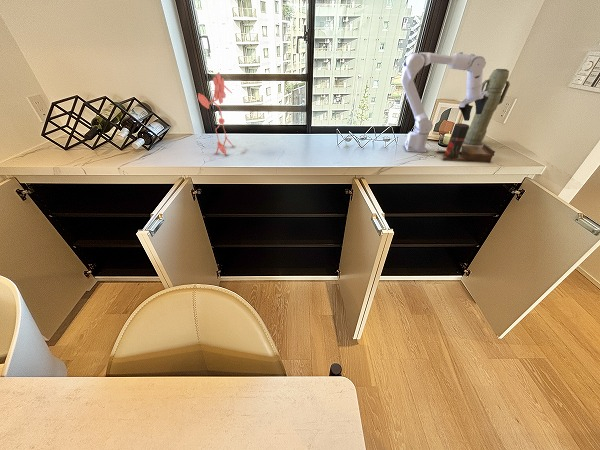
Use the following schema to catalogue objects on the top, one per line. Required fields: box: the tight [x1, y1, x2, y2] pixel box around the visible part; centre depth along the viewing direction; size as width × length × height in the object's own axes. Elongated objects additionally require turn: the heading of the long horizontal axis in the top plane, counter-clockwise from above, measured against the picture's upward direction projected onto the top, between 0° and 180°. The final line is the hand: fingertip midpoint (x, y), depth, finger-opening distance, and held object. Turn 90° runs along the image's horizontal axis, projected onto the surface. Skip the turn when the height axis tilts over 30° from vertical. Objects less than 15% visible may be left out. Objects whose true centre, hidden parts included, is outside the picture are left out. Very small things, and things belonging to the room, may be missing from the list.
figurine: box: [197, 72, 248, 159], centre depth 122 cm, size 15×26×35 cm, turn 172°
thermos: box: [463, 68, 511, 146], centre depth 132 cm, size 9×12×35 cm
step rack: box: [436, 143, 496, 163], centre depth 124 cm, size 21×10×5 cm, turn 82°
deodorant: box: [443, 123, 470, 158], centre depth 122 cm, size 6×6×15 cm
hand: (472, 117), depth 122 cm, fingers open, 7 cm apart
